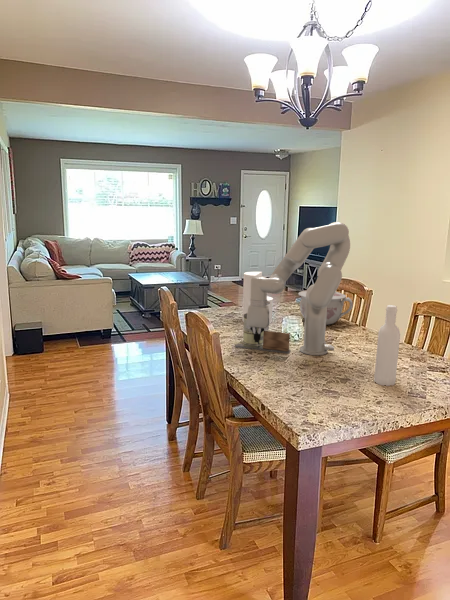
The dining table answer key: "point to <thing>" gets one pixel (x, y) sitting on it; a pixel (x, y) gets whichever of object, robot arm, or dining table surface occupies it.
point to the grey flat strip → (259, 348)
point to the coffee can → (250, 335)
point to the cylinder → (248, 291)
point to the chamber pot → (329, 306)
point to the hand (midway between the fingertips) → (257, 341)
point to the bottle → (387, 349)
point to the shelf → (276, 340)
